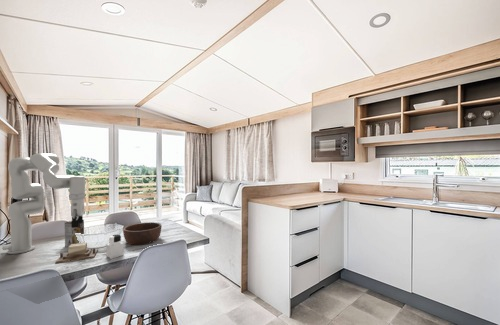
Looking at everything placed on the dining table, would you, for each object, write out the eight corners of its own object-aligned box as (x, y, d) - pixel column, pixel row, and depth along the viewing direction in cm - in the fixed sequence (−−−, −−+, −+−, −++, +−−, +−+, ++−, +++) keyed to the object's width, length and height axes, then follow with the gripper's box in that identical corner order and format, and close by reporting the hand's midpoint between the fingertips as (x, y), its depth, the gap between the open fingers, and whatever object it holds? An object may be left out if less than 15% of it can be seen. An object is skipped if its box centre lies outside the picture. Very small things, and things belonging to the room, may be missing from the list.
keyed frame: (55, 263, 130) (55, 257, 130) (62, 255, 141) (62, 249, 141) (93, 257, 137) (93, 251, 137) (97, 250, 149) (97, 244, 149)
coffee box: (76, 241, 167) (76, 219, 167) (84, 242, 165) (84, 219, 165) (64, 246, 158) (64, 222, 158) (72, 246, 156) (72, 222, 156)
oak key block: (85, 254, 139) (85, 244, 139) (68, 257, 136) (68, 246, 136) (87, 252, 143) (86, 242, 143) (71, 254, 140) (70, 244, 140)
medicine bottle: (119, 252, 145) (118, 233, 145) (123, 255, 141) (123, 235, 141) (106, 255, 140) (106, 235, 140) (111, 258, 135) (110, 238, 135)
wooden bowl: (169, 237, 173) (169, 224, 173) (140, 249, 151) (140, 233, 151) (144, 234, 184) (144, 220, 184) (114, 244, 161) (114, 229, 161)
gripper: (81, 198, 133) (81, 228, 133) (88, 194, 149) (88, 221, 149) (64, 199, 130) (64, 229, 130) (73, 195, 146) (73, 222, 146)
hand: (77, 225), depth 140 cm, fingers open, 9 cm apart
